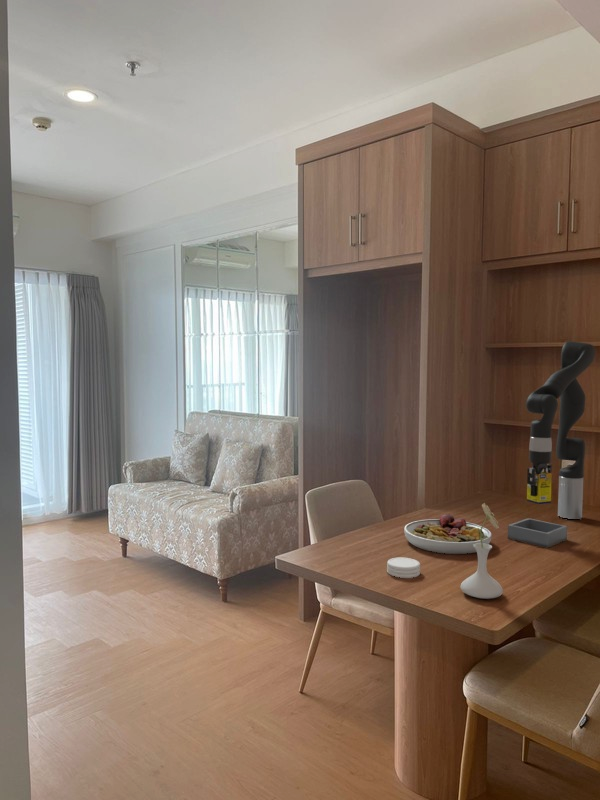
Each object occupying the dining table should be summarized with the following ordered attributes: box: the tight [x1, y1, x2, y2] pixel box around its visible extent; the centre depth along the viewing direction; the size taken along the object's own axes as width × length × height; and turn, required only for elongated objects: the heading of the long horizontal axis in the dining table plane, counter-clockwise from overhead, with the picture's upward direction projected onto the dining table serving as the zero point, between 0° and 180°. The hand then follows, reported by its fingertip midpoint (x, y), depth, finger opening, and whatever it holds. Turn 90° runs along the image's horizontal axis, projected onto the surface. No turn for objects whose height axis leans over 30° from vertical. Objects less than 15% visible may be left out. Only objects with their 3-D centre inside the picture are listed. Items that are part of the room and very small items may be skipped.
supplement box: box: [526, 472, 553, 505], centre depth 221 cm, size 6×6×11 cm
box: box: [507, 517, 568, 549], centre depth 222 cm, size 15×15×5 cm
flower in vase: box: [460, 502, 504, 600], centre depth 169 cm, size 13×11×25 cm
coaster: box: [386, 556, 421, 579], centre depth 186 cm, size 10×10×4 cm
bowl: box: [403, 513, 492, 555], centre depth 217 cm, size 30×30×8 cm
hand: (539, 494), depth 222 cm, fingers closed on supplement box, 7 cm apart
